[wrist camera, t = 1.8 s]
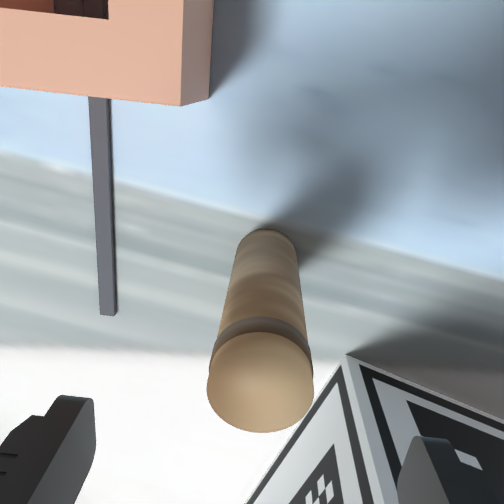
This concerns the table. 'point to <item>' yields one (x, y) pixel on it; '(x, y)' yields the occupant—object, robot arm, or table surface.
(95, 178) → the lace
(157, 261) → the table surface
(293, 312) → the rounded wooden dowel
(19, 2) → the bead terracotta
